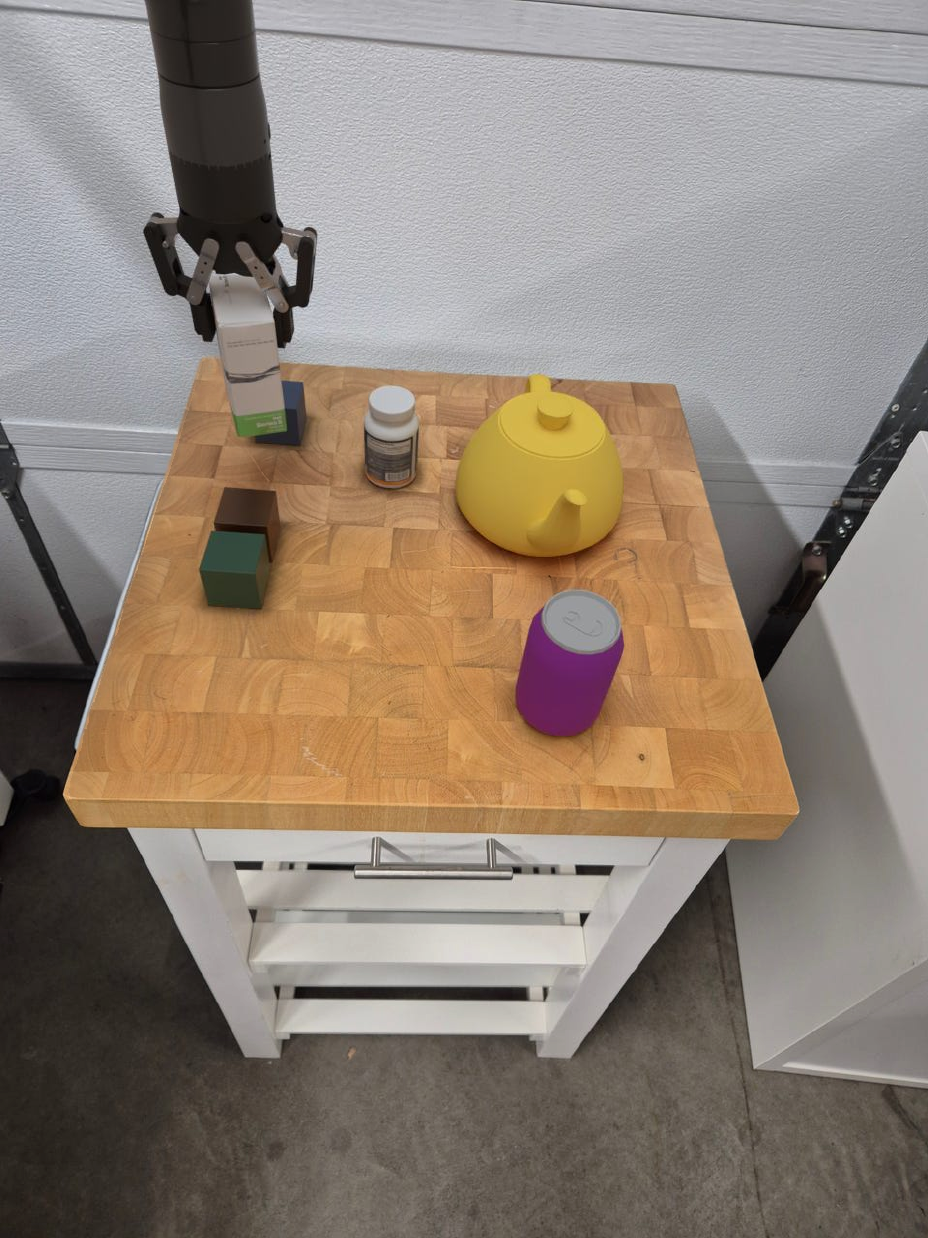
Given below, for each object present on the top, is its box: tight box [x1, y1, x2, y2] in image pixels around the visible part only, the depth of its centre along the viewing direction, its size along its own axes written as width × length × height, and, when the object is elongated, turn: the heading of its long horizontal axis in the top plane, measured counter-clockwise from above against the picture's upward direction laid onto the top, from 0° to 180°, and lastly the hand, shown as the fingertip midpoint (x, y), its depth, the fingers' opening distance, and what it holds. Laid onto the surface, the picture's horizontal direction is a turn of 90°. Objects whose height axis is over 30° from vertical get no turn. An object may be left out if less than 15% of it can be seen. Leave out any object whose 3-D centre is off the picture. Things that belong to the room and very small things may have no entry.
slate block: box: [254, 379, 307, 447], centre depth 91 cm, size 5×5×5 cm
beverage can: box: [515, 588, 625, 737], centre depth 68 cm, size 8×8×12 cm
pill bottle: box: [363, 384, 420, 489], centre depth 86 cm, size 6×6×10 cm
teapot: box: [454, 373, 625, 558], centre depth 82 cm, size 25×18×14 cm
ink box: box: [208, 274, 287, 438], centre depth 75 cm, size 9×5×12 cm, turn 17°
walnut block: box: [213, 486, 282, 563], centre depth 80 cm, size 5×5×5 cm
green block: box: [198, 530, 271, 610], centre depth 76 cm, size 5×5×5 cm
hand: (246, 339), depth 74 cm, fingers closed on ink box, 6 cm apart
